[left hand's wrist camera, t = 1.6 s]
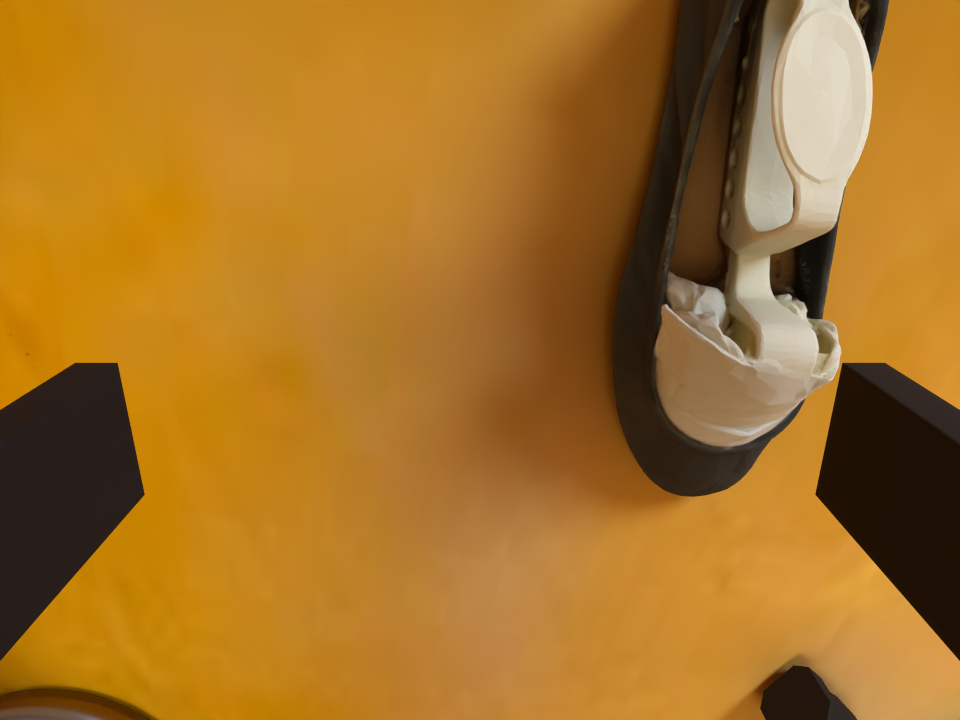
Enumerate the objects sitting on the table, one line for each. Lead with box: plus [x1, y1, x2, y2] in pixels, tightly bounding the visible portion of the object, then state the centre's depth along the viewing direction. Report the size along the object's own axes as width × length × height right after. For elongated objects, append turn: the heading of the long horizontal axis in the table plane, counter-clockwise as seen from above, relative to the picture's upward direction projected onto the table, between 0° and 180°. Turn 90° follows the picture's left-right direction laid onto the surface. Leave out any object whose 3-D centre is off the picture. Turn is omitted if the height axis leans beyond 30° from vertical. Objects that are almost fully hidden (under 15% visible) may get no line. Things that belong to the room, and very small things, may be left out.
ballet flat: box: [613, 0, 889, 496], centre depth 25 cm, size 8×24×8 cm, turn 1°
